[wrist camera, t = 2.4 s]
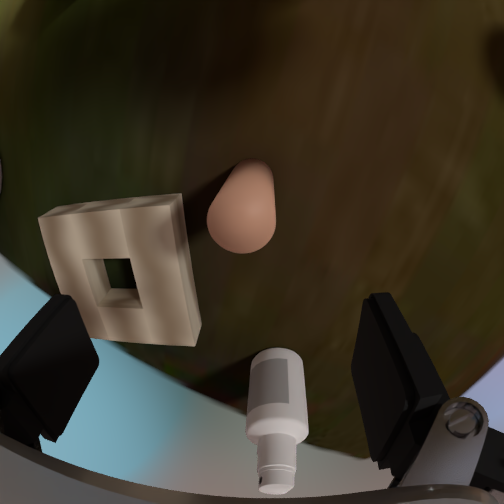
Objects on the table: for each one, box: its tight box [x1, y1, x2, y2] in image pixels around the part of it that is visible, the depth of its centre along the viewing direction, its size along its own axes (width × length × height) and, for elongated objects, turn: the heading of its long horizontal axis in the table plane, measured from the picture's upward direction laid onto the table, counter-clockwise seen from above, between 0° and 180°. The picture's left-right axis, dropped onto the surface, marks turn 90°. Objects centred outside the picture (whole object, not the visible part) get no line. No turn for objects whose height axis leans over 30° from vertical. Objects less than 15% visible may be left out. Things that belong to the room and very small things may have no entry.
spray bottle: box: [245, 347, 309, 495], centre depth 31 cm, size 7×7×18 cm
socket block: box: [38, 193, 202, 346], centre depth 32 cm, size 16×16×4 cm
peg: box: [207, 158, 276, 253], centre depth 23 cm, size 4×4×12 cm
